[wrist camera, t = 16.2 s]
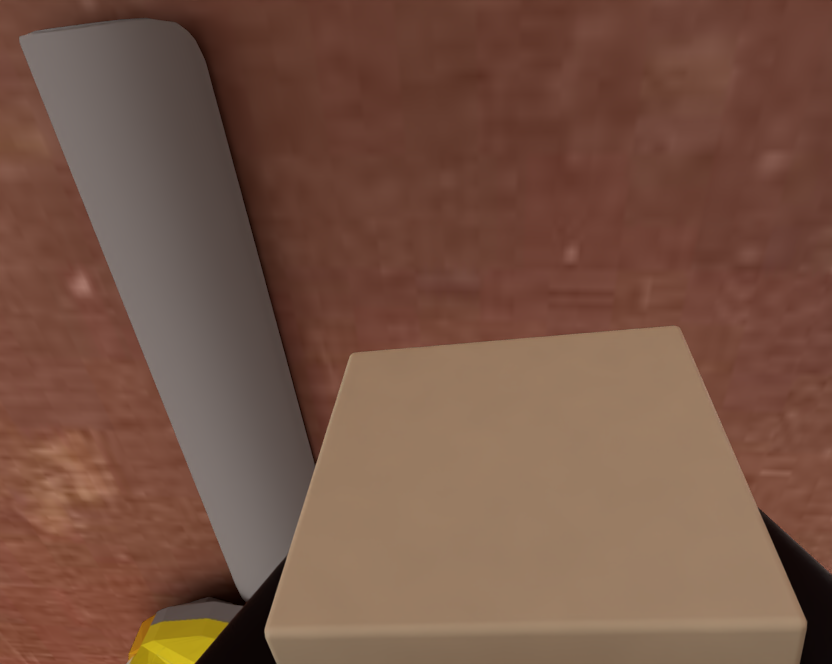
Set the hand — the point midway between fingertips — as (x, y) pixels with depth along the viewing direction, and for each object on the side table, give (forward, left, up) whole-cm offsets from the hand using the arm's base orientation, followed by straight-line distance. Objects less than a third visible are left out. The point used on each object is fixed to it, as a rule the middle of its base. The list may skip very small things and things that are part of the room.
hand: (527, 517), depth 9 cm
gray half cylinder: (+9, +4, -11) cm, 15 cm away
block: (0, 0, -1) cm, 1 cm away
